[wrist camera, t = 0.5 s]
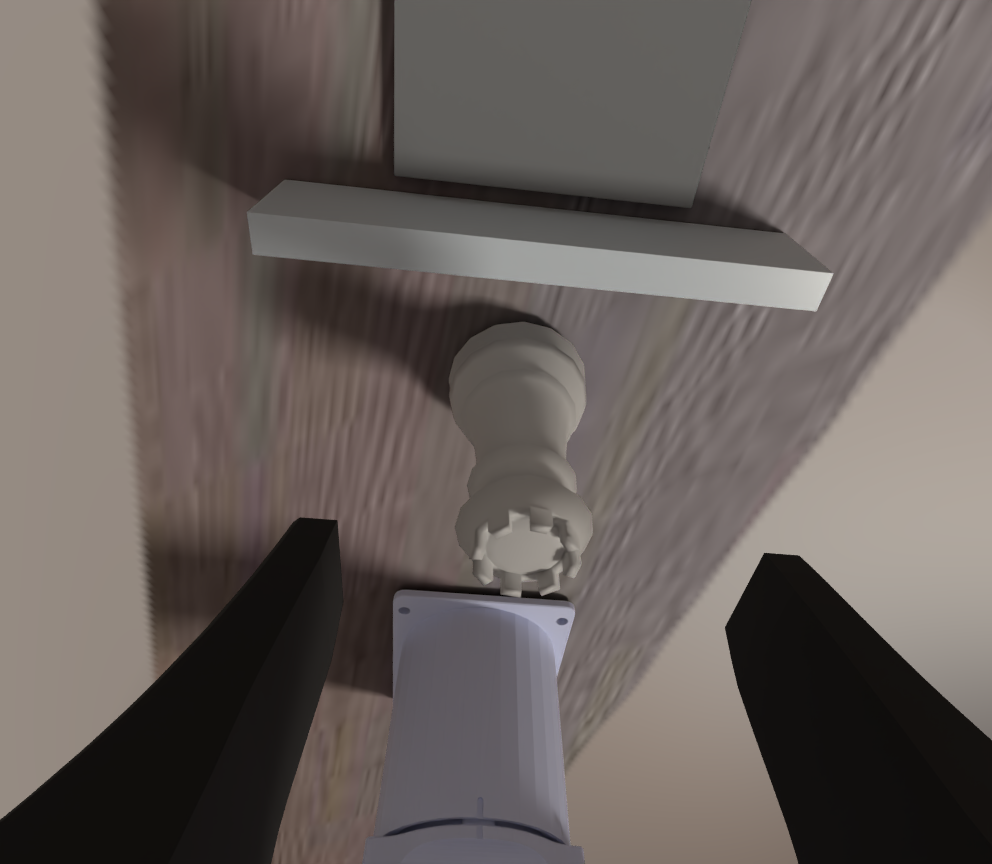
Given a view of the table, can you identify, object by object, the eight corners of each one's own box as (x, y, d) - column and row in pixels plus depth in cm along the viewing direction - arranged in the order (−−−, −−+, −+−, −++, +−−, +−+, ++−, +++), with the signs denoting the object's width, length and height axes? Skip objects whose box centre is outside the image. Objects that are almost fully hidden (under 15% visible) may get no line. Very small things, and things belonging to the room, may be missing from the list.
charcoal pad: (687, 203, 16) (691, 208, 16) (396, 171, 16) (394, 175, 16) (806, -214, 12) (815, -220, 11) (398, -277, 11) (394, -285, 11)
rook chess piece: (428, 338, 19) (392, 516, 12) (564, 296, 18) (601, 463, 12) (476, 443, 21) (467, 637, 15) (597, 411, 21) (643, 601, 14)
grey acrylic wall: (772, 267, 17) (816, 311, 15) (288, 217, 17) (252, 254, 14) (785, 233, 17) (833, 273, 14) (284, 179, 16) (246, 212, 14)
